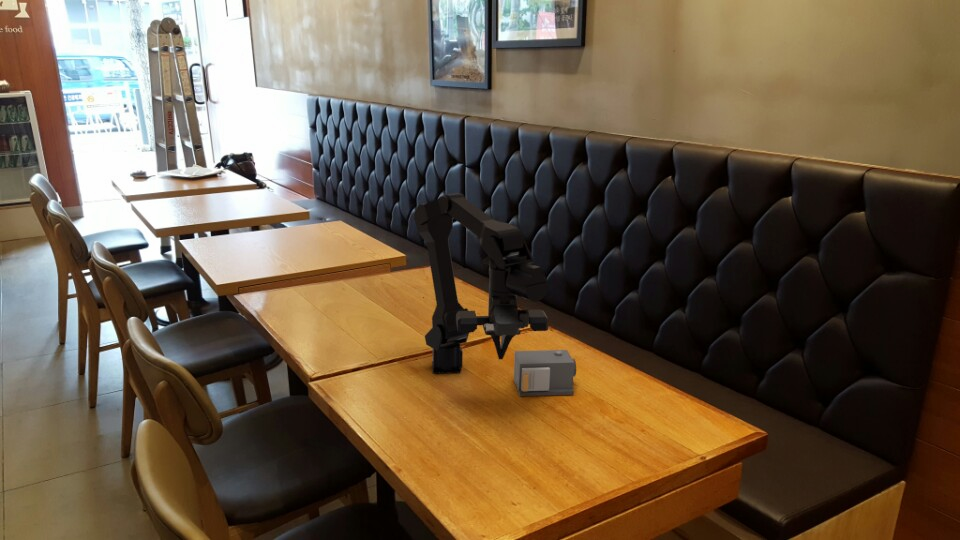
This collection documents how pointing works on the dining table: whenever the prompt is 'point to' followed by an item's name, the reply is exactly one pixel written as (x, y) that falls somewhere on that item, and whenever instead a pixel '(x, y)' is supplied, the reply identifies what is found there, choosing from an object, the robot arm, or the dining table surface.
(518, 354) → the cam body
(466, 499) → the dining table surface
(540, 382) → the side door
